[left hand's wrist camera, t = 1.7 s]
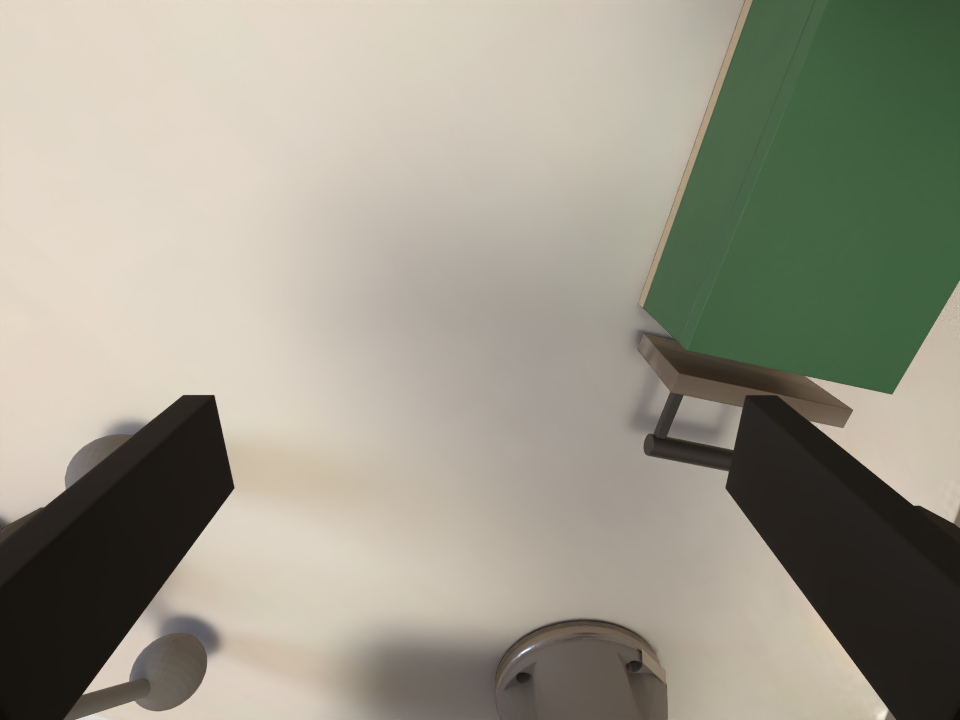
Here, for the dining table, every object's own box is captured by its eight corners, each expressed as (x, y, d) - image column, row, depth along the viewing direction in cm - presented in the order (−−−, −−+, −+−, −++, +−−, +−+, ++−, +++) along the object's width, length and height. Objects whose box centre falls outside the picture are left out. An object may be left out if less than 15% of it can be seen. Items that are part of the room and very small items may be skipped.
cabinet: (799, 339, 34) (892, 395, 27) (638, 304, 34) (685, 350, 26) (977, -24, 27) (1183, -96, 19) (774, -83, 26) (902, -184, 18)
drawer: (745, 451, 37) (796, 510, 31) (609, 424, 36) (635, 479, 30) (939, 59, 27) (1067, 33, 21) (761, 10, 26) (842, -31, 20)
